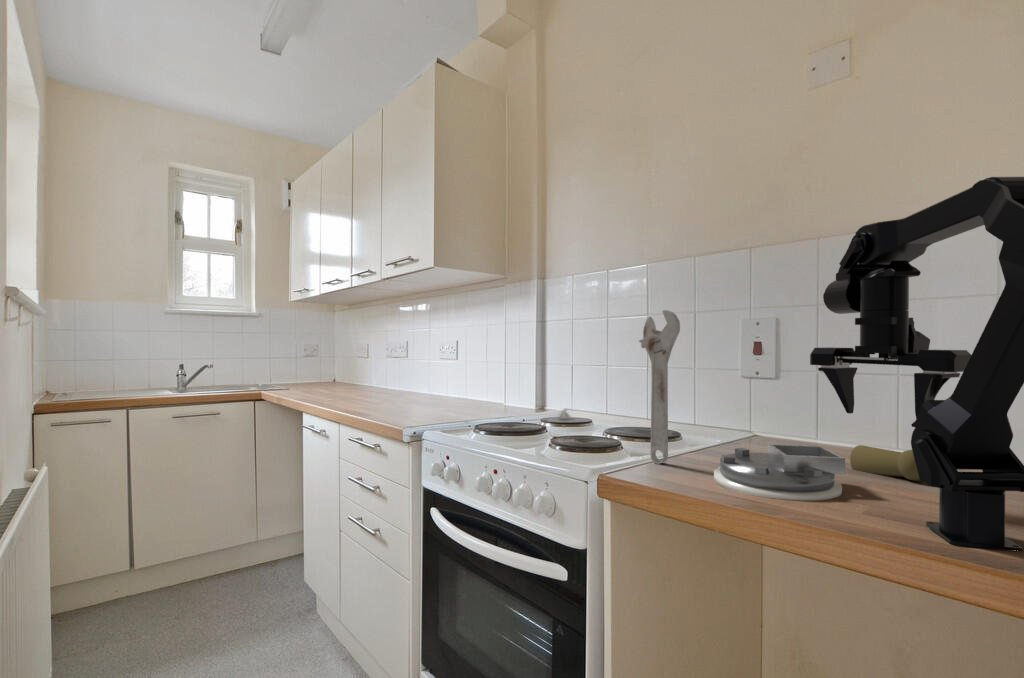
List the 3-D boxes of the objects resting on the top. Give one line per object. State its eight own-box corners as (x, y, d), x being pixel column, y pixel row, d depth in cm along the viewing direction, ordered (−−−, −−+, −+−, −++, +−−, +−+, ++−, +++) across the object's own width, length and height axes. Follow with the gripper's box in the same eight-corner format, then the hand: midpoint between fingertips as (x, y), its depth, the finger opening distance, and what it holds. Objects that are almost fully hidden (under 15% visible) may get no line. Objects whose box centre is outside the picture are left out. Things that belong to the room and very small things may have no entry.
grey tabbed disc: (732, 488, 78) (732, 459, 78) (711, 461, 94) (711, 437, 94) (857, 495, 74) (857, 464, 74) (813, 466, 91) (813, 441, 91)
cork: (857, 438, 96) (920, 440, 85) (877, 458, 96) (941, 463, 86) (845, 464, 94) (908, 469, 83) (866, 484, 94) (930, 492, 84)
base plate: (860, 508, 72) (860, 499, 72) (718, 495, 78) (718, 487, 78) (822, 473, 91) (822, 466, 91) (710, 465, 96) (710, 458, 96)
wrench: (637, 460, 100) (638, 310, 100) (642, 458, 102) (642, 311, 102) (675, 467, 95) (676, 309, 95) (680, 465, 96) (680, 309, 96)
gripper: (992, 309, 69) (991, 423, 69) (848, 314, 85) (848, 406, 85) (952, 307, 63) (951, 430, 64) (808, 313, 80) (807, 410, 80)
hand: (883, 417), depth 73 cm, fingers open, 9 cm apart
